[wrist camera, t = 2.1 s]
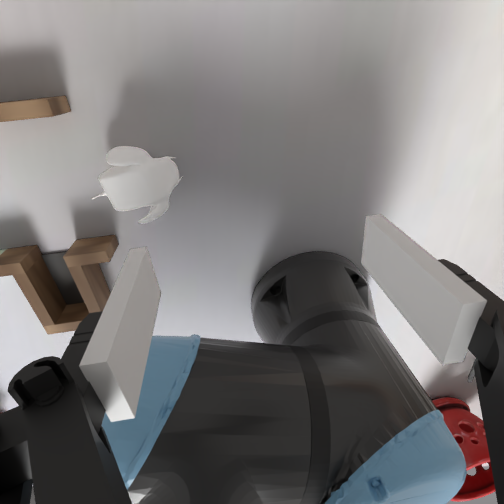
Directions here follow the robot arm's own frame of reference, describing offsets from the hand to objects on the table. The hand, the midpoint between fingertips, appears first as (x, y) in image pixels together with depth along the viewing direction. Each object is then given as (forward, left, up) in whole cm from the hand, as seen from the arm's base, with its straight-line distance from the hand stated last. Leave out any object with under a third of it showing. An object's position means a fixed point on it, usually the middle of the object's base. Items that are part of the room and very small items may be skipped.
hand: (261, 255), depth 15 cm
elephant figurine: (+9, 0, -18) cm, 20 cm away
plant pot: (-33, +51, -18) cm, 63 cm away
